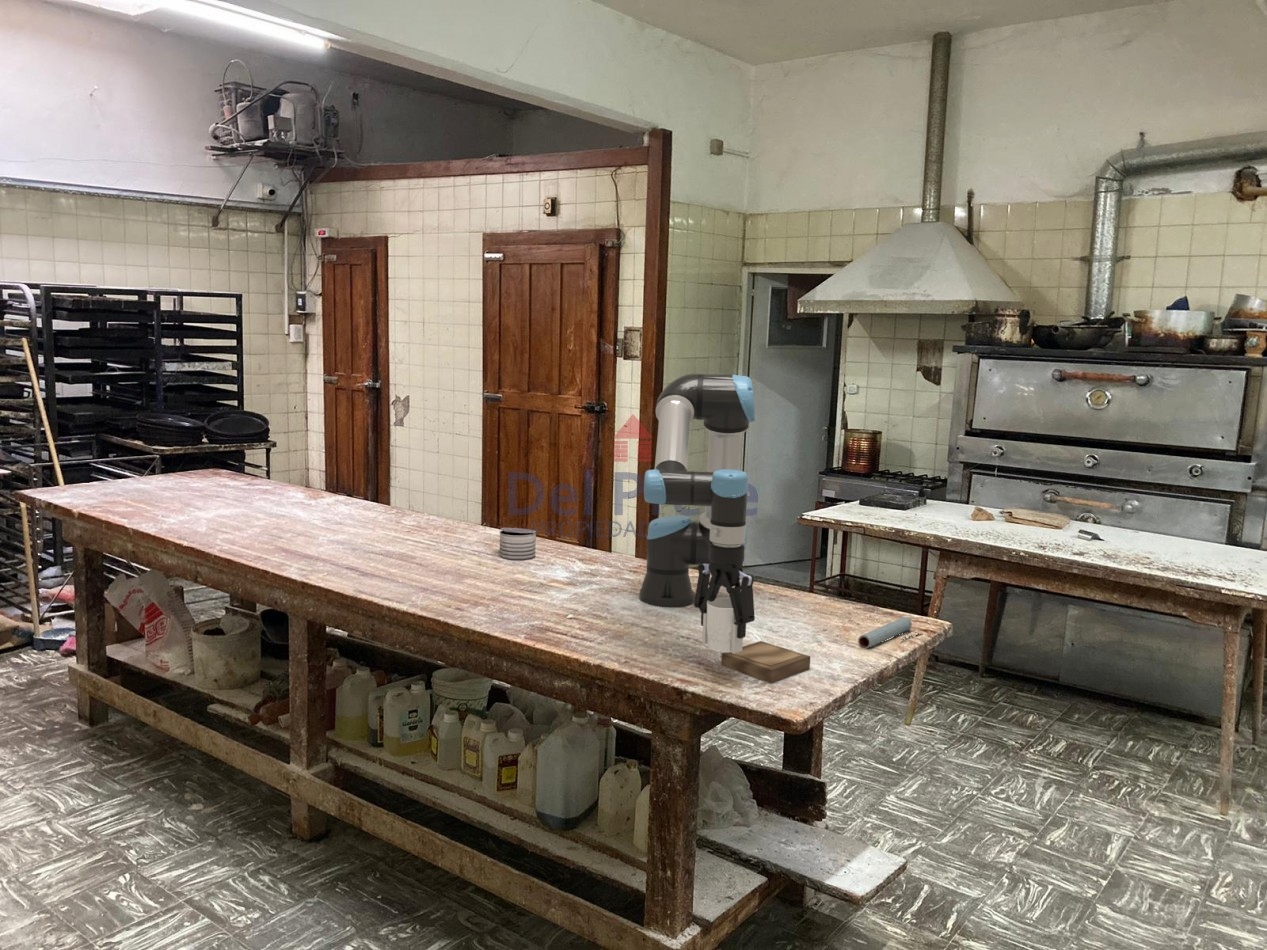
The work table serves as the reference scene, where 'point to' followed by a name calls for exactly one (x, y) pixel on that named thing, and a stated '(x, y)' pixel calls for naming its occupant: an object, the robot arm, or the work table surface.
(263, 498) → the work table surface
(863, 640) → the aluminum foil
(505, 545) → the can
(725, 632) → the white cup
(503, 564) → the work table surface
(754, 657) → the base
